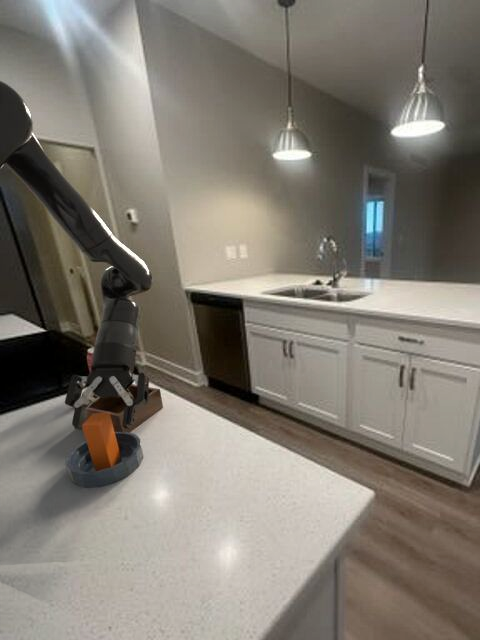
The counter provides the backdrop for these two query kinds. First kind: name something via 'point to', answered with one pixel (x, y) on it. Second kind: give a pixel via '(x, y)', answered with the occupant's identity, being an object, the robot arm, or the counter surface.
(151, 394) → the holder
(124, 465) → the bowl
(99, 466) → the block
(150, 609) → the counter surface
